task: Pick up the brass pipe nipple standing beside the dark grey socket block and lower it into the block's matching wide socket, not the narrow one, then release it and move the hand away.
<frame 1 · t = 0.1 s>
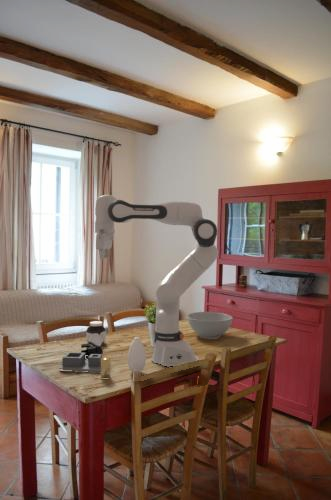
hand: (104, 258, 184), 48 cm above the table, tool pointing down, fingers open, 8 cm apart
spread jar: (96, 345, 209), on the table
decorative bowl: (209, 336, 230), on the table
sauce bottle: (136, 373, 167), on the table
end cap: (91, 358, 187), on the table
socket block: (84, 367, 173), on the table
pipe nipple: (105, 377, 161), on the table
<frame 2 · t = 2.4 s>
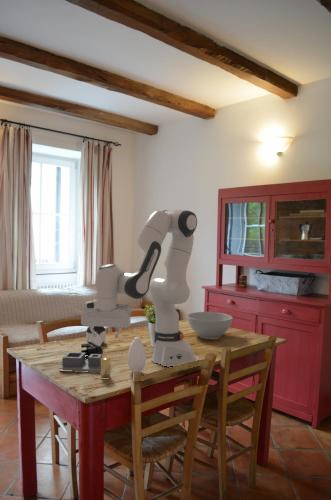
hand: (105, 337, 160), 17 cm above the table, tool pointing down, fingers open, 8 cm apart
nothing on the table moved.
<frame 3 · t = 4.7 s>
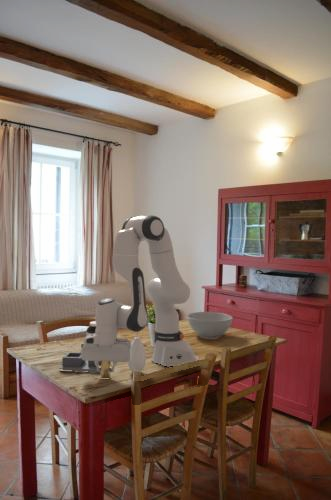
hand: (105, 371, 161), 3 cm above the table, tool pointing down, fingers closed on pipe nipple, 4 cm apart
pipe nipple: (105, 377, 161), on the table, touching gripper
everything else where it was.
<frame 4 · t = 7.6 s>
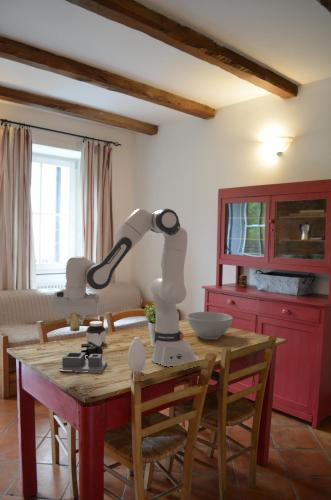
hand: (75, 324, 172), 19 cm above the table, tool pointing down, fingers closed on pipe nipple, 4 cm apart
pipe nipple: (74, 330, 172), point 17 cm above the table, touching gripper
everything else where it was.
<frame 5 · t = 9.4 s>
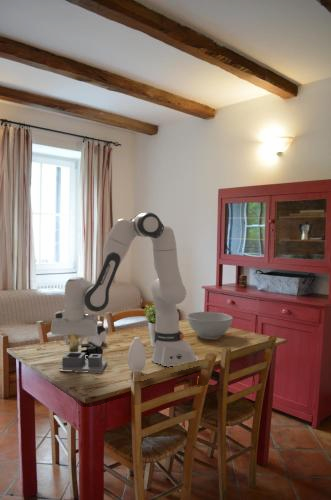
hand: (73, 344, 172), 10 cm above the table, tool pointing down, fingers closed on pipe nipple, 4 cm apart
pipe nipple: (73, 350, 172), point 7 cm above the table, touching gripper
everything else where it was.
when the fingers open (7 cm above the table, at t = 10.8 s): pipe nipple drops 3 cm, resting on socket block.
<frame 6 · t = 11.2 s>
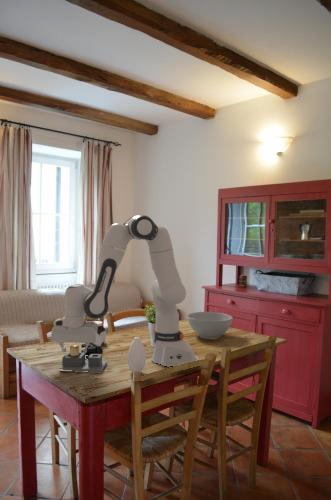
hand: (74, 351, 173), 7 cm above the table, tool pointing down, fingers open, 8 cm apart
pipe nipple: (74, 363, 173), point 2 cm above the table, touching socket block
everything else where it was.
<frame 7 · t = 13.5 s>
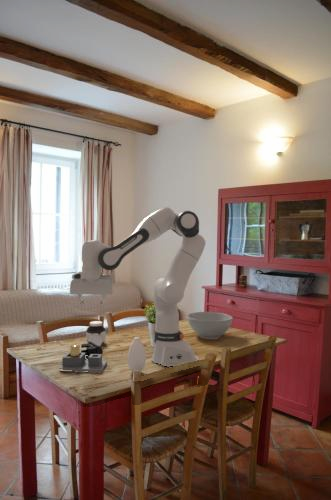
hand: (92, 303, 183), 27 cm above the table, tool pointing down, fingers open, 8 cm apart
nothing on the table moved.
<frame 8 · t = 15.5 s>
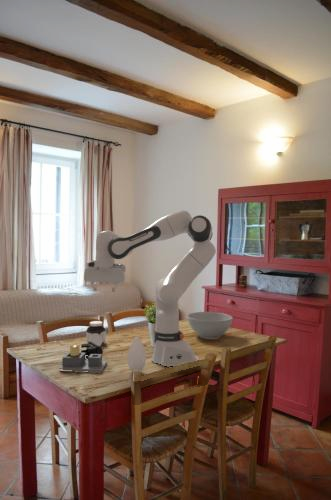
hand: (104, 291, 193), 31 cm above the table, tool pointing down, fingers open, 8 cm apart
nothing on the table moved.
at the end: pipe nipple 0.2 cm from the target spot on the socket block, point 1.6 cm above the socket block's base; pipe nipple tilted 2°; the gripper is holding nothing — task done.
